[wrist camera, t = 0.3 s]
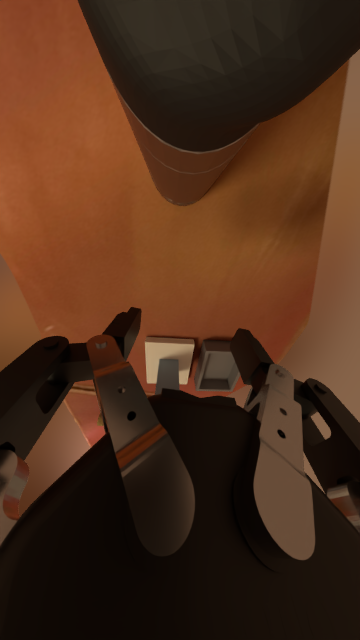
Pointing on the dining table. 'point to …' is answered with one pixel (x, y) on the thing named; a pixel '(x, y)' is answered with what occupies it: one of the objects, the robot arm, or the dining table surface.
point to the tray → (216, 367)
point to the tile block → (167, 375)
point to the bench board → (168, 356)
